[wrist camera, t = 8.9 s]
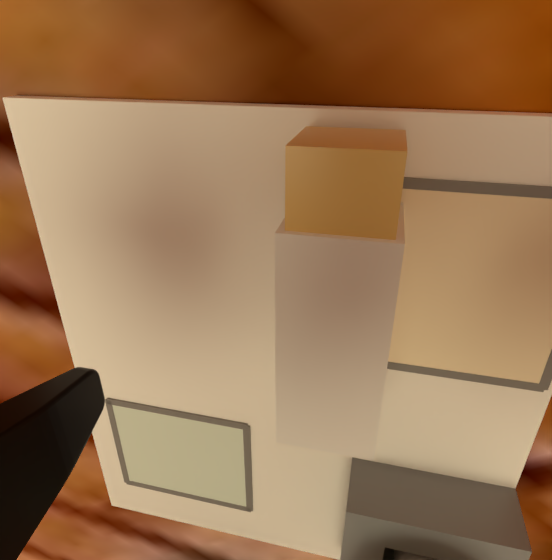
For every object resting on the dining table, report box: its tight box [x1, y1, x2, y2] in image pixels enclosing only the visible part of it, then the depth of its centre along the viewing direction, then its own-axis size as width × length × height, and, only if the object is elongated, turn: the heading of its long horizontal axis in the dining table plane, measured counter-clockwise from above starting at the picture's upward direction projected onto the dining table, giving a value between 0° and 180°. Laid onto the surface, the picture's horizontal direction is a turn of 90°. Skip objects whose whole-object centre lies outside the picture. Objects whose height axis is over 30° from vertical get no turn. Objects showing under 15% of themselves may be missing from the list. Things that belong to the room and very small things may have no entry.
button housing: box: [340, 457, 532, 560], centre depth 18 cm, size 6×6×3 cm
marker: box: [275, 126, 407, 461], centre depth 13 cm, size 9×3×3 cm, turn 1°
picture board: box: [3, 95, 552, 560], centre depth 17 cm, size 20×18×1 cm
